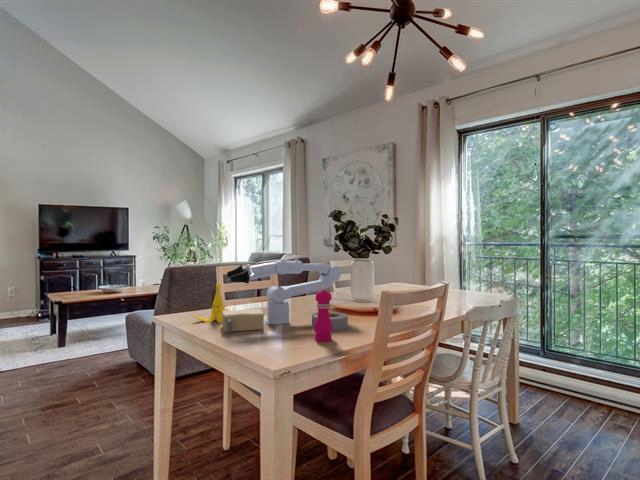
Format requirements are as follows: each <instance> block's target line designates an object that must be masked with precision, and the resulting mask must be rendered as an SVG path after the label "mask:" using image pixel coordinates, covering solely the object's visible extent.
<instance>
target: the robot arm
mask: <svg viewBox="0 0 640 480" xmlns="http://www.w3.org/2000/svg"><path fill="white" fill-rule="evenodd" d="M304 271H305V272H307V271H308V272H309V271H310V272H319V273H320V276H319V278H318V280H313V281H308V282H302V283H297V284H293V285H284V286H282V285H281V286H276V285H271V286H269V287H267V290H266V292H265V294H266V297H267V298H268V300H267V303H266V304H267V305H266V307H267V308H266V309H267V310H266V311H267V316H266V317H267V318H266V319H265V320H264V322H265V323H267V324H266V325H280V324H283V325H285V324H290V305H289V304H290V303H289V301H285V300H289V298H292V297H295V296H302V295H305V294H312V293H317V292H318V291H321V287H322V286H325V287H326V290H328V289H329V288H330V287H331V286H332V285H334V283H336V282H338V281H339V280H340V278H341V275H342V269H341V267H339V266H338V265H332V264H328V263H327V264H326V263H320V262H319V263H318V262H315V263H311V262H310V263H303V262H302V261H300V260H299V259H294V260H288V259H284V260H279V259H278V260H277V259H276V260H274V261H273V262H266V263H261V264H256V265H251V264H249V263H247V266H245V267H244V266H243V265H242V264H241V265H239V266H237V267H236V268H234V269H232V270H229V271H227V272H226V274H227V275H226V277H227V278H230V283H245V284H250V281H255V280H256V279H261V278H267V277H270V276H274V275H286V274H287V275H288V274H293V275H294V274H297V275H298V274H301V273H302V272H304Z"/></svg>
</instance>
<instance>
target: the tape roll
mask: <svg viewBox="0 0 640 480" xmlns="http://www.w3.org/2000/svg"><path fill="white" fill-rule="evenodd" d="M317 315H318V312H314V313H312V314H311V327H312V328H313V329H314V323H315V321H316V319H317ZM329 317H330V320H331V322H332V325H333V330H332V332H333V331H343V330H347V328H348V325H349V324H348V323H349V322H348V318H349V317H348V314H347V313H344V312H337V311H329Z"/></svg>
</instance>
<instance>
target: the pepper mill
mask: <svg viewBox="0 0 640 480" xmlns="http://www.w3.org/2000/svg"><path fill="white" fill-rule="evenodd" d="M315 293H316V294H315V300H316V302H317V303H316V308H317V313H318V315H317V319H316V321H315V323H314V328H313V330H314V332H315V334H314V340H315V341H317V342H320V343H321V342H330V341H332V334H331V333H332V332H333V331H332V330H333V325H332V322H331V320H330V317H329V312H330V308H331V303H330V302H331V301H332V299H333V298H332V294H331V292H330V291H328V290H327V289H326V287H325V286H322V287H321V291H316V292H315Z"/></svg>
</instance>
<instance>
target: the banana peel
mask: <svg viewBox="0 0 640 480" xmlns="http://www.w3.org/2000/svg"><path fill="white" fill-rule="evenodd" d="M215 287H216V290H215V291H216V292H215V295H214V298H213V302H212V306H211V315H210V317H209V318H206V317H204V318H203V317H200V316H197V315H195V314H192V316H193V317H194V318H195V319H197V320H198V321H201V322H202V323H212V322H214V321H215V320H216V322H217V323H219V324H222V311H225V310H229V309H228V308H225V306H224V301H223V298H222V295H221V291H220V290H221V289H220V288H221V283H216V284H215Z"/></svg>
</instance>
